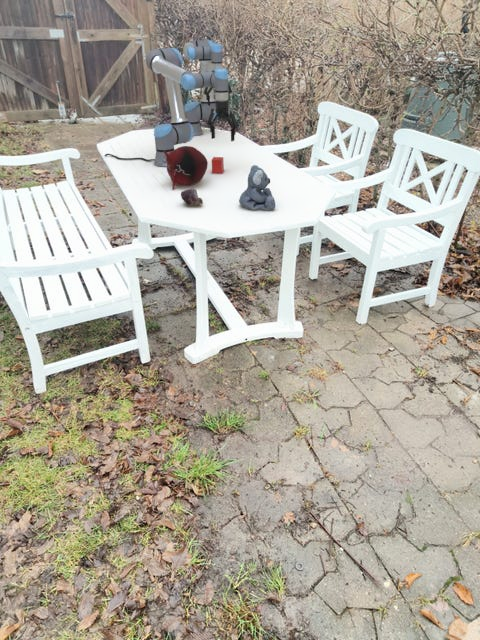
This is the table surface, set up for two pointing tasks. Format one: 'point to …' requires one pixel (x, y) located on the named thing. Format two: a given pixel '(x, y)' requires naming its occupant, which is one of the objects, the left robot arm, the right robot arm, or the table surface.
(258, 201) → the koala plush
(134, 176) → the table surface
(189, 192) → the rock
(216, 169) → the brick
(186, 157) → the dark red rounded piece
